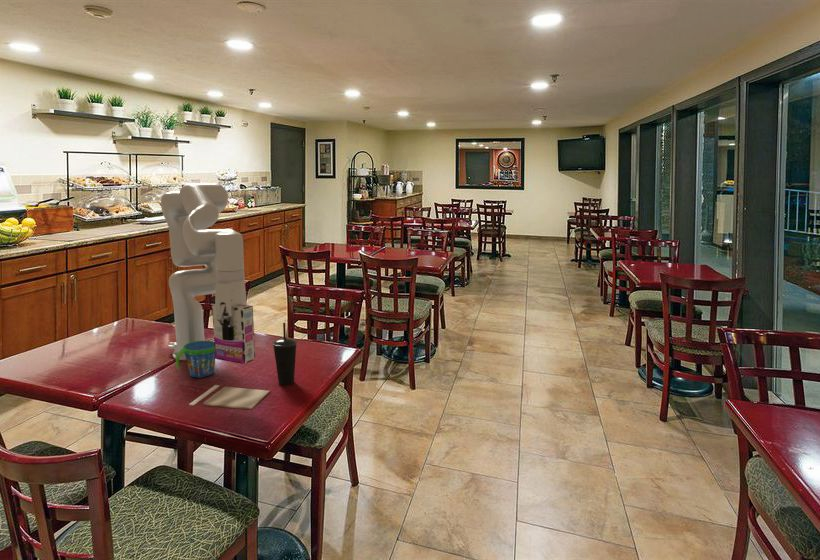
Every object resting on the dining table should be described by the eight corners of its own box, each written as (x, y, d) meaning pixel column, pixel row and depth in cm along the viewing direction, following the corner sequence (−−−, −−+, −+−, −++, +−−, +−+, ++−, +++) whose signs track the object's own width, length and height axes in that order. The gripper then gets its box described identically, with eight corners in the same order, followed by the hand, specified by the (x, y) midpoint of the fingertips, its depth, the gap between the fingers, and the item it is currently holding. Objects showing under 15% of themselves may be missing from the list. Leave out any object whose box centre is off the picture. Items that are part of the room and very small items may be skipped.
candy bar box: (256, 359, 149) (253, 305, 145) (244, 365, 144) (242, 309, 141) (226, 353, 153) (223, 301, 149) (214, 359, 148) (210, 304, 145)
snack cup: (222, 364, 177) (220, 337, 175) (230, 374, 169) (229, 345, 167) (173, 373, 168) (171, 344, 166) (180, 384, 160) (178, 354, 158)
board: (202, 404, 146) (202, 403, 146) (224, 388, 158) (224, 386, 158) (251, 409, 144) (251, 407, 144) (269, 392, 155) (269, 390, 155)
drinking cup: (276, 378, 166) (274, 319, 162) (299, 377, 167) (298, 319, 163) (271, 387, 159) (269, 326, 155) (296, 387, 159) (294, 326, 156)
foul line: (189, 405, 146) (188, 404, 146) (215, 385, 159) (214, 385, 159) (193, 405, 146) (193, 404, 146) (219, 386, 159) (219, 385, 159)
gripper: (233, 269, 152) (236, 327, 156) (201, 280, 136) (205, 345, 139) (256, 270, 151) (259, 329, 155) (227, 282, 135) (231, 346, 138)
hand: (234, 336), depth 147 cm, fingers closed on candy bar box, 5 cm apart
